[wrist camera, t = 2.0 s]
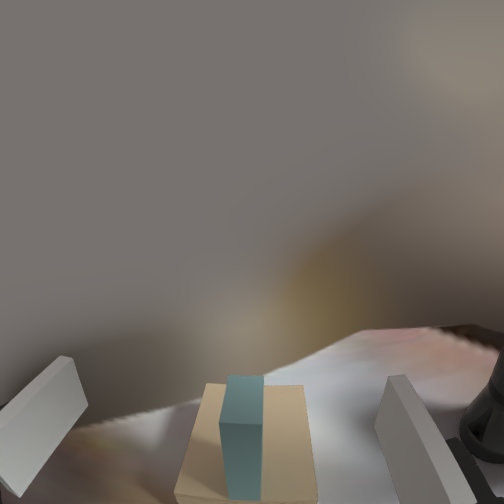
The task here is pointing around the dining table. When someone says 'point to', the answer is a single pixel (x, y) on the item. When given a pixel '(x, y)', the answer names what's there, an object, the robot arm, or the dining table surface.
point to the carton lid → (250, 445)
